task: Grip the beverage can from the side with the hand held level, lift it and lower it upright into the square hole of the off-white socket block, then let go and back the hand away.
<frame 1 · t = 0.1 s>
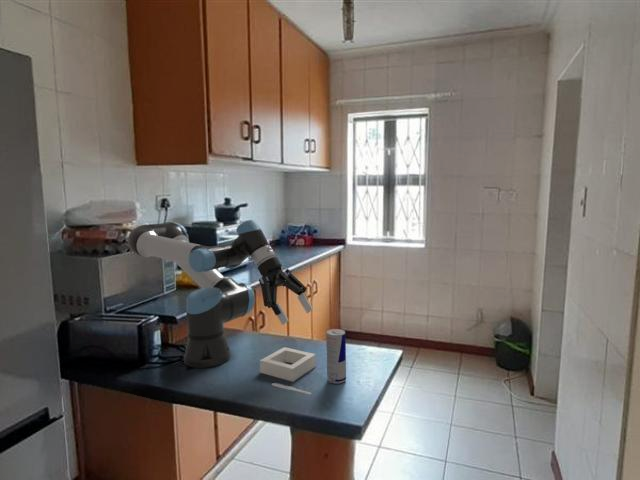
hand: (298, 317, 135), 15 cm above the worktop, tool tilted 35°, fingers open, 13 cm apart
beverage can: (336, 381, 123), on the worktop
socket block: (288, 369, 132), on the worktop
butter knife: (312, 395, 116), on the worktop
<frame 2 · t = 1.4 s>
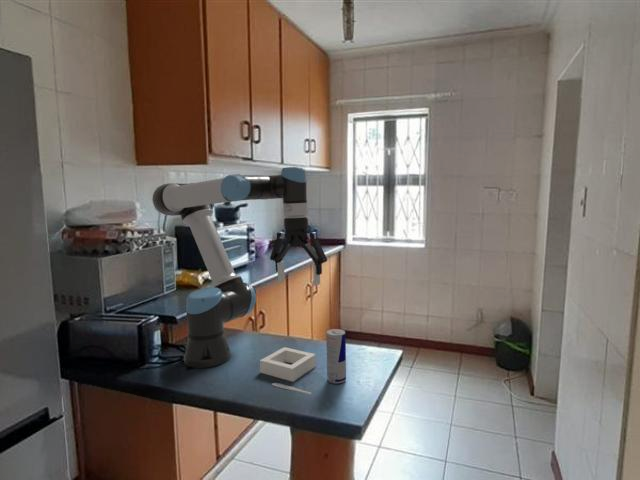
hand: (298, 283, 133), 27 cm above the worktop, tool pointing down, fingers open, 13 cm apart
nothing on the worktop moved.
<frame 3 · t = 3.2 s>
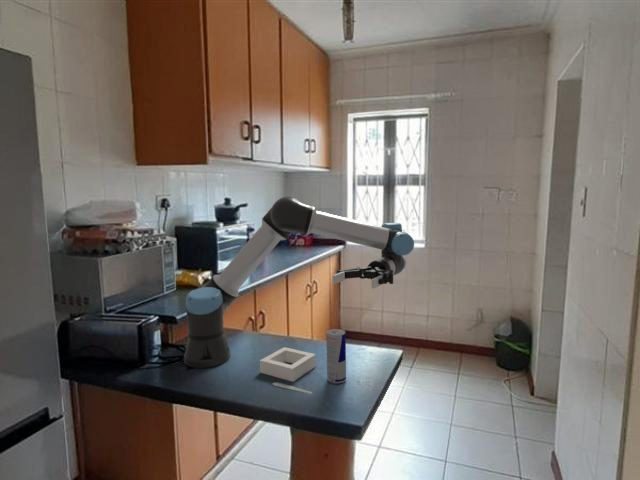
hand: (352, 281, 129), 28 cm above the worktop, tool horizontal, fingers open, 13 cm apart
nothing on the worktop moved.
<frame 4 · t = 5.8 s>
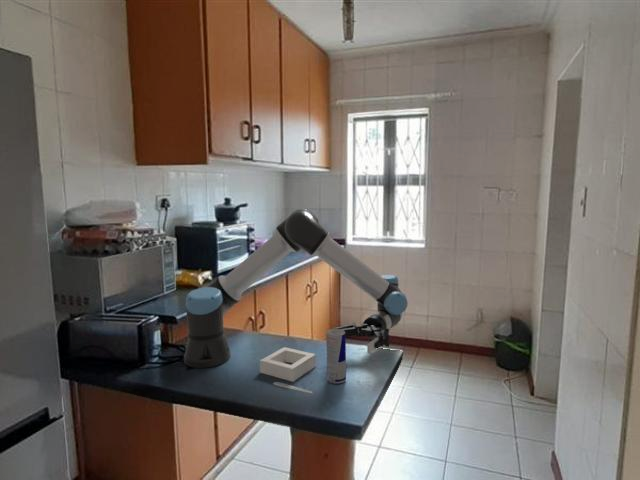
hand: (348, 344, 127), 9 cm above the worktop, tool horizontal, fingers open, 13 cm apart
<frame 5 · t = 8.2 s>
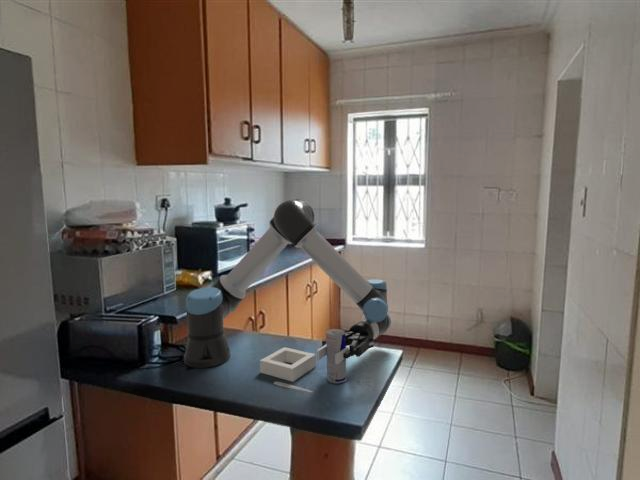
hand: (327, 357, 118), 9 cm above the worktop, tool horizontal, fingers closed on beverage can, 5 cm apart
beverage can: (336, 380, 123), on the worktop, touching gripper
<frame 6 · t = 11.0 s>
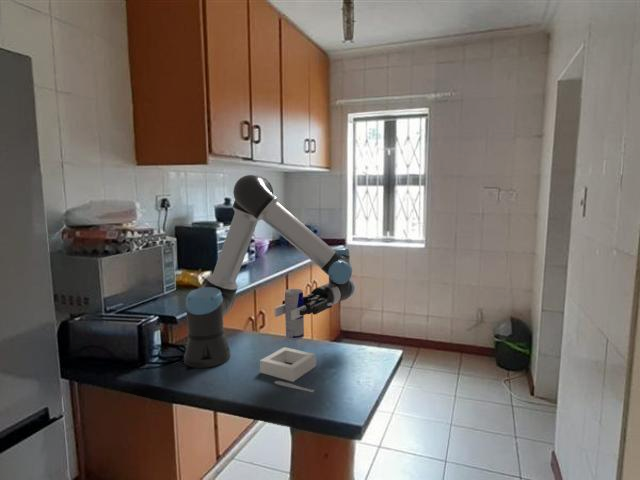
hand: (283, 313, 124), 20 cm above the worktop, tool horizontal, fingers closed on beverage can, 5 cm apart
beverage can: (295, 338, 129), point 11 cm above the worktop, touching gripper
when the fingers open (10 cm above the worktop, at t = 14.0 s): beverage can stays where it is, resting in socket block.
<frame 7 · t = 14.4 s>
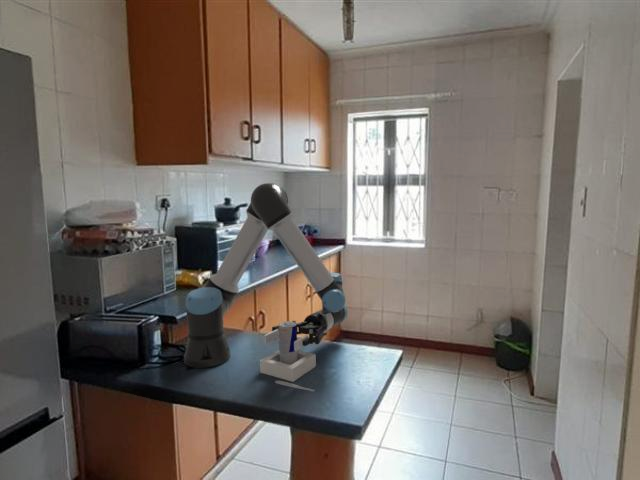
hand: (279, 343, 127), 10 cm above the worktop, tool horizontal, fingers open, 11 cm apart
beverage can: (288, 370, 131), resting in socket block
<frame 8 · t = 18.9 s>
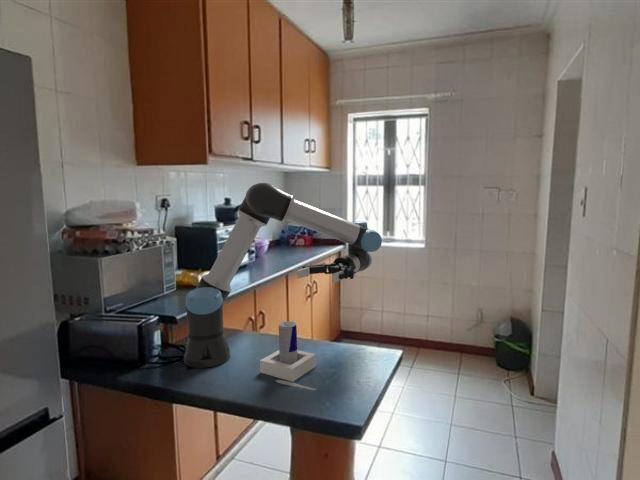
hand: (314, 276, 136), 28 cm above the worktop, tool horizontal, fingers open, 13 cm apart
at the end: beverage can 0.1 cm off-centre on the socket block, point 0.0 cm above the socket block's base; beverage can tilted 0°; the gripper is holding nothing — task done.
